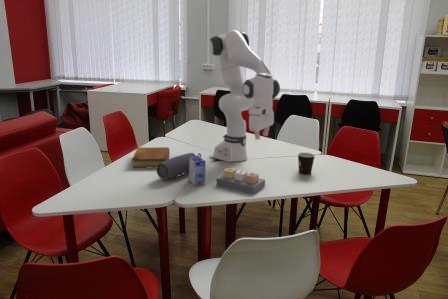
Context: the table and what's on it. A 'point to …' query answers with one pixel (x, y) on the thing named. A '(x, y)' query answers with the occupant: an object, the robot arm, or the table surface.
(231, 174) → the key
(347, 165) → the table surface
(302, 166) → the coffee mug
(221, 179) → the grey keypad base
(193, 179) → the ink cartridge box
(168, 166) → the bluetooth speaker
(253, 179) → the key
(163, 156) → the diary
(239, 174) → the key
